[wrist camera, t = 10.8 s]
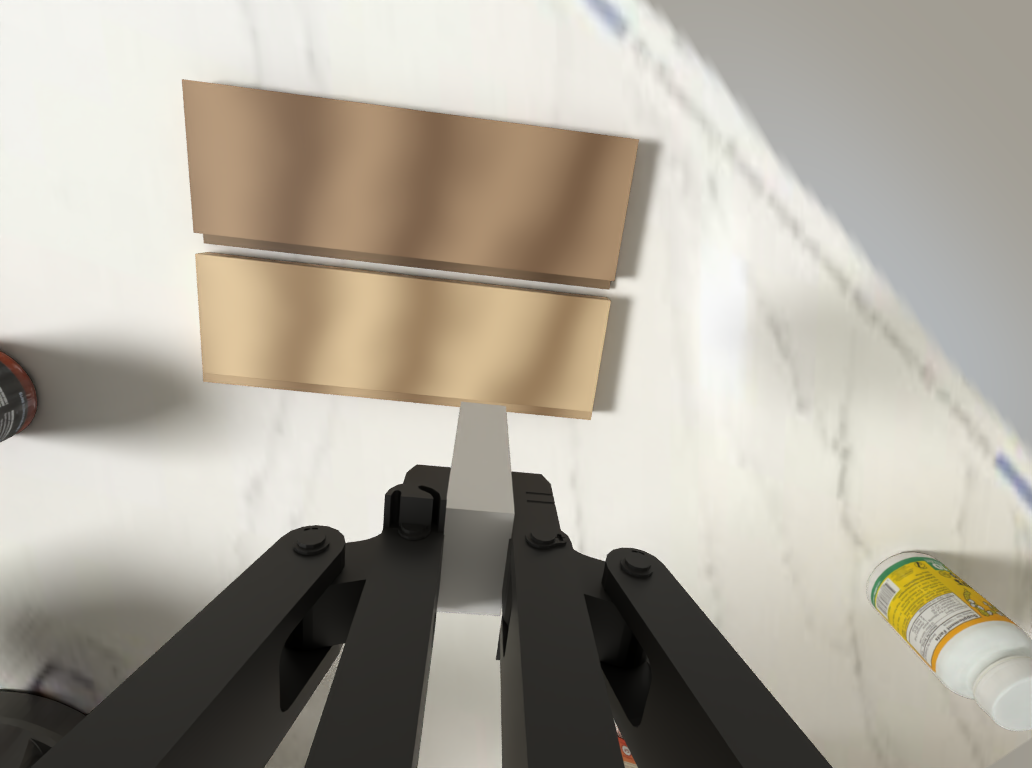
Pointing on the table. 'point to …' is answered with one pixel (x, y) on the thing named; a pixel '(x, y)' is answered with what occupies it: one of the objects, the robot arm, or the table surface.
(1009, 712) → the supplement bottle
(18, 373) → the supplement bottle
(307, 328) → the plank
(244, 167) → the laid board
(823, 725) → the table surface
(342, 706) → the robot arm
